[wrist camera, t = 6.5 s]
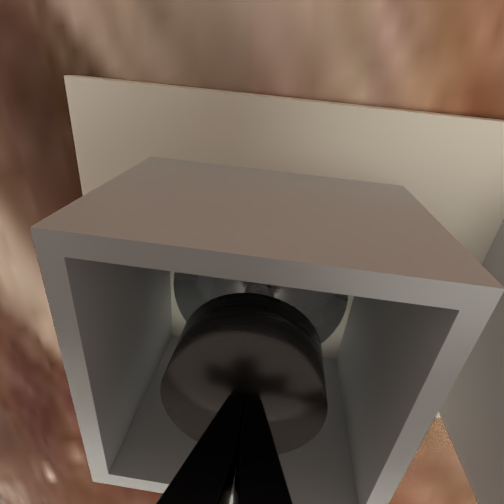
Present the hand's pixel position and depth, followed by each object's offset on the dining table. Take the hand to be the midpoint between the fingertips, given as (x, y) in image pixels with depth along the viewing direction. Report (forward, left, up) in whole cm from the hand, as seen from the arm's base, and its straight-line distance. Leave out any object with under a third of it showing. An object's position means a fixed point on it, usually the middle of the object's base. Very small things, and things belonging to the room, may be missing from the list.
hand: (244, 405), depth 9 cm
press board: (-6, 0, -7) cm, 10 cm away
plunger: (0, 0, -6) cm, 6 cm away
